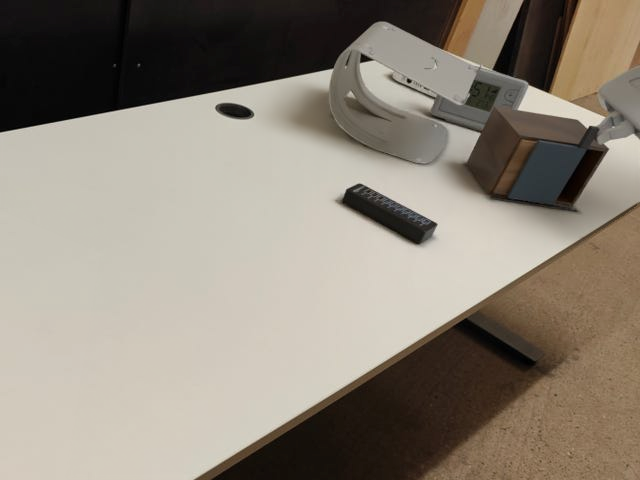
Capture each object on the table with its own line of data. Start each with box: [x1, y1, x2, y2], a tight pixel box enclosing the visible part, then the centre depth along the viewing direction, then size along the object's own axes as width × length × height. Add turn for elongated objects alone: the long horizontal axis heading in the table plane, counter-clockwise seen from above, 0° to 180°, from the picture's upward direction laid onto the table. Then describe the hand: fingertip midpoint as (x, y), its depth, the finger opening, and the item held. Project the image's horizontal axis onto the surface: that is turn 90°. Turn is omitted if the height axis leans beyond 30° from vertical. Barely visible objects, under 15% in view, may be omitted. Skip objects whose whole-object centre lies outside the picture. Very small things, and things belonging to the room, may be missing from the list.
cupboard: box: [466, 106, 610, 213], centre depth 119 cm, size 14×16×11 cm
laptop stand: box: [328, 21, 483, 165], centre depth 128 cm, size 26×24×16 cm
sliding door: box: [506, 125, 600, 205], centre depth 112 cm, size 1×8×14 cm, turn 89°
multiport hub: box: [341, 183, 438, 245], centre depth 105 cm, size 4×14×2 cm, turn 45°
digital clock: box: [430, 65, 529, 133], centre depth 139 cm, size 16×9×11 cm, turn 54°
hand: (594, 137), depth 110 cm, fingers closed
